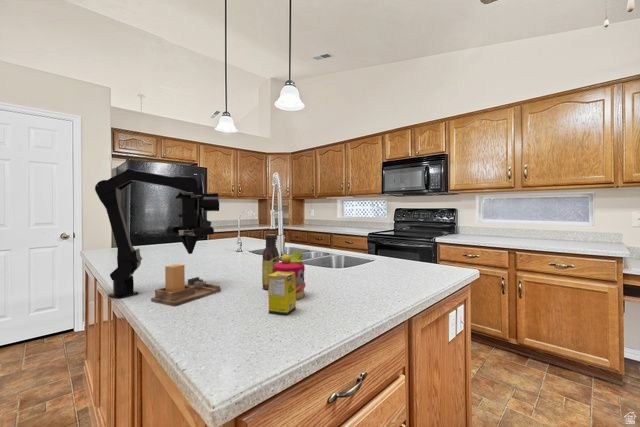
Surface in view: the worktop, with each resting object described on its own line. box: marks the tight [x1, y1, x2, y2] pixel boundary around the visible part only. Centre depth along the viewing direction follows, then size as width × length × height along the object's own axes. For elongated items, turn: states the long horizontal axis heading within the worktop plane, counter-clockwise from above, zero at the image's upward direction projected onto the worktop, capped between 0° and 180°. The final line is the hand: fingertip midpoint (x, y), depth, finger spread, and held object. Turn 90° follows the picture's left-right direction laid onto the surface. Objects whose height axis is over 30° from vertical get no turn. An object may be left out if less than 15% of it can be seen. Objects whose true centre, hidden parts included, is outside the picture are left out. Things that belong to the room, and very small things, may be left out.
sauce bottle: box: [261, 233, 280, 290], centre depth 112 cm, size 7×6×20 cm
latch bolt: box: [193, 278, 207, 287], centre depth 110 cm, size 4×2×3 cm, turn 63°
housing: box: [150, 276, 222, 307], centre depth 103 cm, size 12×18×4 cm, turn 153°
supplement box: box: [267, 271, 297, 316], centre depth 87 cm, size 6×6×11 cm
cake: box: [274, 250, 306, 301], centre depth 101 cm, size 10×11×15 cm
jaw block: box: [164, 263, 186, 292], centre depth 99 cm, size 4×4×10 cm
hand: (190, 253), depth 111 cm, fingers closed
